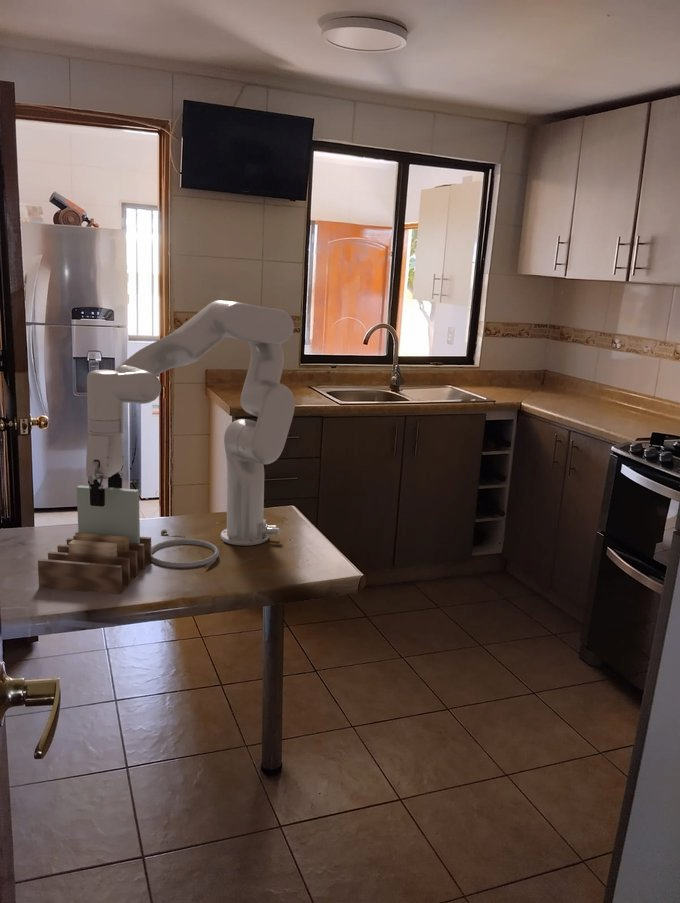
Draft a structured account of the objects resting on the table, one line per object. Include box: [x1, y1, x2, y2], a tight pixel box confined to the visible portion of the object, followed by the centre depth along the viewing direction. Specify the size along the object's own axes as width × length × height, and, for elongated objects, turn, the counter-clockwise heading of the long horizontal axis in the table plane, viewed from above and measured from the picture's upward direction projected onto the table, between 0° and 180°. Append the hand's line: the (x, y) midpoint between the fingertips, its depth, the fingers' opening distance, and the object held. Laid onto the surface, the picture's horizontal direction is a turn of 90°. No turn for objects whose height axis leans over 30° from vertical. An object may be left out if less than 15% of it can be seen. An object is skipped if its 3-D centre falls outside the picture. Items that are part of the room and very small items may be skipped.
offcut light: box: [68, 540, 117, 557], centre depth 163 cm, size 10×2×8 cm, turn 84°
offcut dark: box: [72, 533, 129, 550], centre depth 167 cm, size 12×2×8 cm, turn 84°
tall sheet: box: [76, 484, 141, 544], centre depth 171 cm, size 14×2×18 cm, turn 84°
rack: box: [37, 531, 153, 595], centre depth 166 cm, size 18×19×7 cm
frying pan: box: [151, 528, 220, 569], centre depth 184 cm, size 17×3×28 cm
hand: (106, 499), depth 169 cm, fingers open, 9 cm apart
